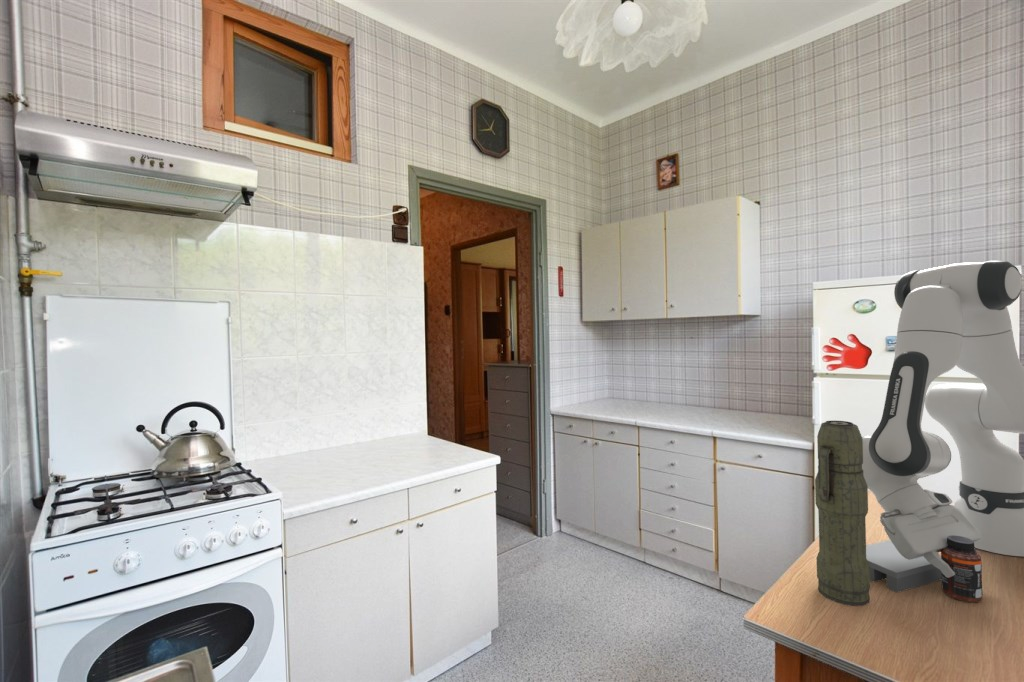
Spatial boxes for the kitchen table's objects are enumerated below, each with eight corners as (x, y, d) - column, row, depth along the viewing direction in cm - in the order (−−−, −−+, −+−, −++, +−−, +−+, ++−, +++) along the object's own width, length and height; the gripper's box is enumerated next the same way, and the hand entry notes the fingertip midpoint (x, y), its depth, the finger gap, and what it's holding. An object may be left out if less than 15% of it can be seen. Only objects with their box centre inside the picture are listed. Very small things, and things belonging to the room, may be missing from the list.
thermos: (881, 594, 97) (877, 421, 96) (854, 614, 91) (850, 429, 90) (833, 576, 104) (829, 416, 104) (805, 593, 98) (801, 423, 98)
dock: (894, 555, 113) (893, 538, 113) (949, 577, 102) (948, 559, 102) (844, 568, 108) (844, 550, 108) (897, 592, 97) (896, 572, 97)
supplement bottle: (991, 605, 92) (990, 546, 92) (955, 602, 93) (953, 544, 93) (968, 588, 98) (967, 533, 98) (934, 586, 99) (933, 532, 99)
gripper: (886, 507, 98) (943, 576, 89) (952, 493, 105) (1011, 557, 96) (865, 520, 103) (917, 588, 94) (929, 507, 109) (984, 569, 100)
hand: (965, 572), depth 95 cm, fingers closed on supplement bottle, 6 cm apart
